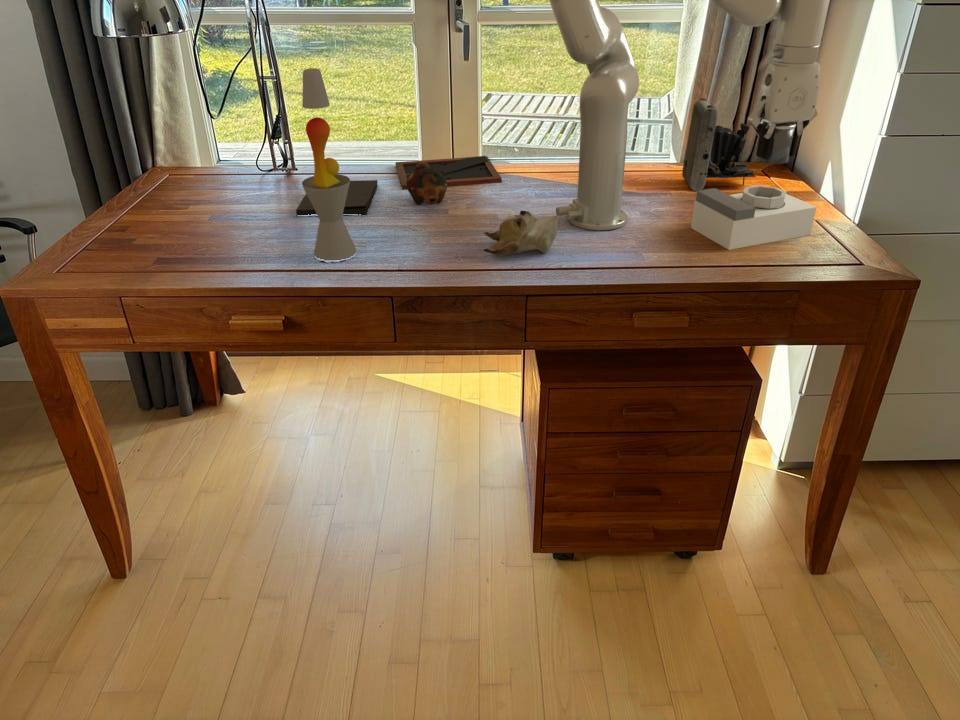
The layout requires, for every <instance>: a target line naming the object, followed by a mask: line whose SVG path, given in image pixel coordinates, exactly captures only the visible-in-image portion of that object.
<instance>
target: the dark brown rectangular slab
mask: <svg viewBox="0 0 960 720" xmlns="http://www.w3.org/2000/svg"><path fill="white" fill-rule="evenodd" d="M377 189H378V180H377V179H374V180H372V179H369V180H367V179H365V180H359V179H358V180H350V184H349V188H348V193H347V197H346V202H345V206H344V211H343V214H358V215H359V214H361V215H366V214H367V215H368V213H367V212H369V210H368V209H370V207H371V205H370V204H372V202H373V200H372V199H374V197H375V194H376V192H377ZM295 213H296V216H297V215H308V214H309V215H311V214H317V213H316V211H315V209H314V207H313V205H312V203H311V202H310V200H309V198H308V196H307V194H306V193H305V195H304V196H303V198H302V199H301V201H300V202H299V204H298V206H297V208H296V209H295ZM367 215H366V216H367Z"/></svg>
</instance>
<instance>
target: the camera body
mask: <svg viewBox="0 0 960 720" xmlns="http://www.w3.org/2000/svg"><path fill="white" fill-rule="evenodd" d="M816 212H817V206H814V205H813V204H812V203H811V204H810V203H808V202H806V201H804V200H803V199H802V200H801V199H799V198H797V197H794V196H792V195H790V194H788V193H787V192H786V191H785V190H783V189H780V188H778V187H776V186H769V185H757V184H756V185H752V186H745V187H744V189H743V192H741V193H734V194H728V193H726V192H724V191H722V190H719V189H718V188H715V187H713V188H707V189H702V190H700V191H696V197H695V200H694V201H693V210H692V217H691V218H692V219H691V224H690V228H691V229H692V230H694V231H696V232H697V233H699V234H701V235H702V236H704V237H705V238H708V239H709V240H711V241H713V242H715V243H716V244H718V245H720V246H721V247H723V248H725V249H726V250H727V251H728V250H729V251H732V250H736V249H742V248H746V247H747V248H749V247H752V246H753V247H754V246H759V245H762V244H763V245H764V244H770V243H775V242H780V241H787V240H791V239H795V238H796V239H797V238H802V237H807V236H811V233H812V229H813V224H814V220H815V216H816Z"/></svg>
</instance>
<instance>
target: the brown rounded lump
mask: <svg viewBox="0 0 960 720" xmlns="http://www.w3.org/2000/svg"><path fill="white" fill-rule="evenodd" d="M406 187H407V189H408V190H407V191H408V193H409V194H410V196H411V198H412V200H413V202H414V204H415V205H417V206H421V205H422V204H423V203H424V202H425V203H426V204H428V205H430V206H431V205H432V206H434V205H436V204H441V203H442V202H443V201H444V200H443V199H444V198H445V196H446V192H447V189H448V187H447V181H446V179H445V177H444V176H443V175H442V174H441V173H440V172H438V171H436V170H434V169H431V168H430V166H429V165H428V164H427V163H425V162H420V163H418V164H417V165H416V166H415V172H413V173H412V174H411V175H410V176H409V177H408V179H407V181H406Z"/></svg>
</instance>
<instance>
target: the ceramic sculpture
mask: <svg viewBox="0 0 960 720" xmlns="http://www.w3.org/2000/svg"><path fill="white" fill-rule="evenodd" d="M559 219H560V216H557V215H555V216H550V217H547V218H543V219H538V218H536V216H535V215H534V213H531V212H530V211H527V210H521V211H520V212H519V215H518V214H516V215H515V214H514V215H509V216H507V217H506V218H504V219H503V220H502V222H501V223H500V225H499V229H498V230H497V231H494V232H490V231H485V232H483V234H484V235H485V236H486V237H488V238H490V239H491V240H494V241H496V242H493V243H492V244H491V245H490V246H489V247H487V248H483V251H484V252H485V253H488V254H492V255H496V256H506V255H510V254H512V253H513V254H518V253H525V252H527V251H533V250H539V251H541V252H542V253H544V254H546V253H548V252H549V251H550V249H551V247H552V246H553V243H554V240H555V238H556V237H557V235H558V226H559Z"/></svg>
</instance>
